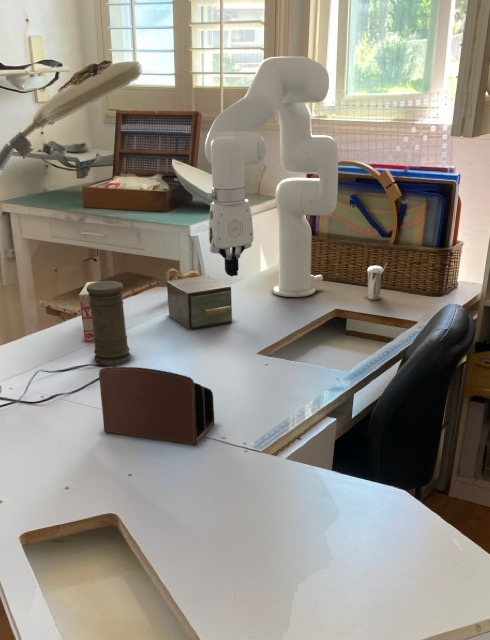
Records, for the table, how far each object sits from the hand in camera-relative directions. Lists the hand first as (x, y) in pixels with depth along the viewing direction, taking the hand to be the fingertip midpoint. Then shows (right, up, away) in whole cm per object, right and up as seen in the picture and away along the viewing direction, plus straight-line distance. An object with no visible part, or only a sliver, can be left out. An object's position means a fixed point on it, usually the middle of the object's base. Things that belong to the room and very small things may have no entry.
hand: (231, 274), depth 200 cm
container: (-29, -22, -2) cm, 36 cm away
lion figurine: (-13, +8, +45) cm, 47 cm away
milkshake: (+42, +5, +36) cm, 56 cm away
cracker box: (-35, -9, +19) cm, 41 cm away
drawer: (-7, -6, +20) cm, 22 cm away
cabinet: (-9, -4, +24) cm, 26 cm away
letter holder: (-15, -44, -39) cm, 60 cm away
